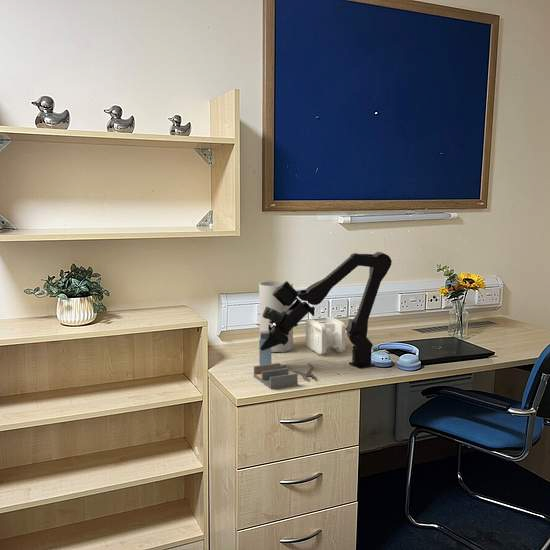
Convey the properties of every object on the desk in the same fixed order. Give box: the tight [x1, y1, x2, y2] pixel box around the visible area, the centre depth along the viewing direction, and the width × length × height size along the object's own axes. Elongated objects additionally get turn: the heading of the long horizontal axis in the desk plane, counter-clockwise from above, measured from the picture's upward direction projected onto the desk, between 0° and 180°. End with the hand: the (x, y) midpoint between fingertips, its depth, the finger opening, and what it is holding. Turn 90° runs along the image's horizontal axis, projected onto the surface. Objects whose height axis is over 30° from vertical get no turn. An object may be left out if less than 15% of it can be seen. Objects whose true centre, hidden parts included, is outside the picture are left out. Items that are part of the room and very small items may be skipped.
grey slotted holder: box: [253, 362, 299, 390], centre depth 194 cm, size 9×14×4 cm, turn 24°
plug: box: [258, 330, 272, 366], centre depth 209 cm, size 4×4×12 cm
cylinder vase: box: [258, 280, 294, 353], centre depth 232 cm, size 12×12×25 cm
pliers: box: [283, 362, 318, 383], centre depth 204 cm, size 10×1×20 cm
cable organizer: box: [305, 316, 346, 356], centre depth 229 cm, size 15×11×12 cm
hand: (261, 348), depth 209 cm, fingers closed on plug, 4 cm apart
